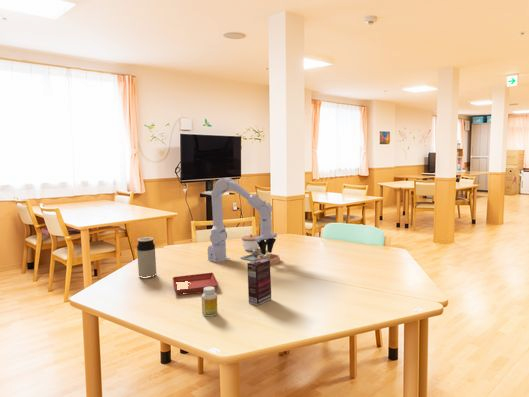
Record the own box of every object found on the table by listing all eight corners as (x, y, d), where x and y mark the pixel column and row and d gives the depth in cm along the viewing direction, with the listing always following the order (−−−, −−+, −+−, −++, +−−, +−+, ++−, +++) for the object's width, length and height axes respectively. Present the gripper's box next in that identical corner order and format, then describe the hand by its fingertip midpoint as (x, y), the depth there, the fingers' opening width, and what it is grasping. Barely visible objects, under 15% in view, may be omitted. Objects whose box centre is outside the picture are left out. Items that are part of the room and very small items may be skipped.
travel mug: (151, 279, 185) (149, 240, 183) (135, 278, 187) (133, 240, 184) (159, 274, 193) (157, 237, 191) (144, 273, 194) (141, 236, 192)
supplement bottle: (199, 314, 144) (198, 288, 143) (211, 309, 148) (210, 284, 147) (208, 318, 140) (207, 291, 139) (220, 313, 144) (219, 287, 143)
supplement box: (262, 296, 160) (261, 257, 158) (271, 299, 157) (270, 259, 155) (247, 303, 153) (246, 262, 151) (257, 306, 150) (256, 264, 148)
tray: (253, 262, 209) (252, 260, 209) (240, 259, 215) (240, 257, 215) (268, 257, 218) (268, 255, 218) (255, 254, 224) (255, 252, 224)
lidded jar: (239, 249, 237) (239, 233, 236) (256, 247, 241) (255, 231, 240) (246, 253, 227) (246, 237, 226) (263, 251, 231) (263, 235, 230)
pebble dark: (255, 257, 217) (255, 251, 216) (250, 256, 219) (250, 250, 218) (260, 256, 219) (260, 249, 219) (255, 255, 222) (255, 248, 221)
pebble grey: (267, 262, 205) (266, 255, 205) (262, 261, 208) (261, 254, 207) (271, 260, 208) (271, 253, 207) (266, 259, 210) (266, 252, 210)
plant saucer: (174, 297, 162) (174, 289, 162) (172, 283, 179) (172, 276, 179) (219, 292, 167) (218, 284, 166) (213, 279, 184) (212, 272, 184)
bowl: (270, 266, 201) (269, 260, 200) (253, 262, 208) (253, 257, 207) (283, 261, 209) (283, 256, 208) (267, 258, 216) (267, 252, 216)
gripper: (262, 230, 198) (263, 257, 199) (281, 225, 208) (281, 251, 210) (251, 228, 202) (252, 255, 204) (270, 224, 213) (271, 249, 215)
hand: (266, 253), depth 207 cm, fingers open, 4 cm apart
